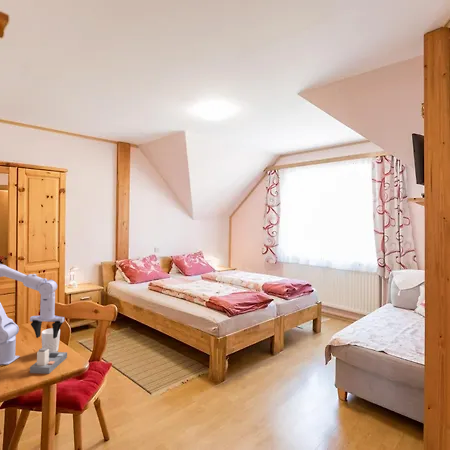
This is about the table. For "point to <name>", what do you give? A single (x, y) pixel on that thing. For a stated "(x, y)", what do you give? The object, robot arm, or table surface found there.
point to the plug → (43, 357)
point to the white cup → (50, 340)
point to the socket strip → (54, 361)
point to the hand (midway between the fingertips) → (46, 337)
